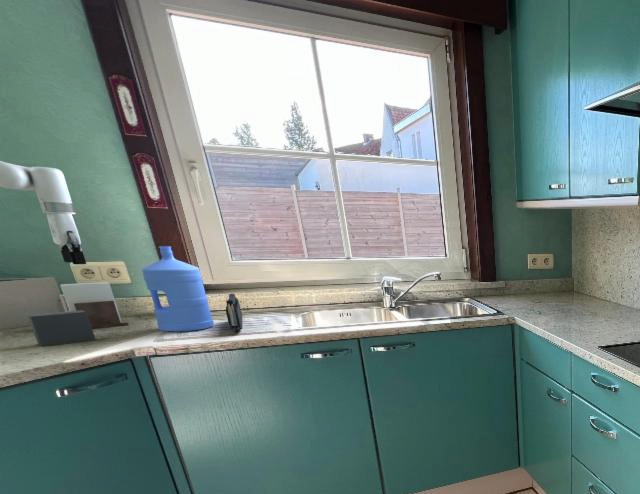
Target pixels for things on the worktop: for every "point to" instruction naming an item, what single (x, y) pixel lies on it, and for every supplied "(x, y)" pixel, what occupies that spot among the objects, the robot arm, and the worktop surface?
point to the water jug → (178, 294)
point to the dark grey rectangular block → (61, 327)
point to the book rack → (98, 313)
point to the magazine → (234, 313)
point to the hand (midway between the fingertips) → (75, 263)
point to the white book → (87, 293)
